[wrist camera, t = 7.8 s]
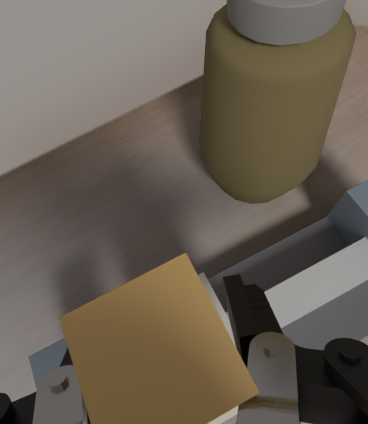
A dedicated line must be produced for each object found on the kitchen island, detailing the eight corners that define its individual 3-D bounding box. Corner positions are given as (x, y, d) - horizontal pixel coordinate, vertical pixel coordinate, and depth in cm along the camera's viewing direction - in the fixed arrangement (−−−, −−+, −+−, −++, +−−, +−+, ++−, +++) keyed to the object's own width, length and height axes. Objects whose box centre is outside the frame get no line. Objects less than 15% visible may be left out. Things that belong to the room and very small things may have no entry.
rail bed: (108, 481, 18) (65, 529, 13) (71, 356, 20) (24, 356, 16) (431, 294, 20) (500, 273, 15) (356, 205, 23) (393, 164, 18)
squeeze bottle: (307, 224, 22) (535, -124, 6) (194, 212, 24) (139, -101, 8) (308, 132, 26) (460, -256, 9) (208, 126, 27) (191, -225, 11)
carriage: (175, 435, 16) (93, 582, 6) (132, 326, 19) (18, 286, 8) (259, 387, 17) (327, 439, 6) (206, 287, 19) (189, 201, 9)
